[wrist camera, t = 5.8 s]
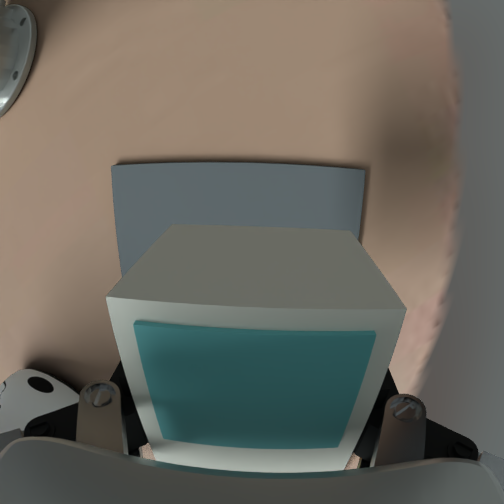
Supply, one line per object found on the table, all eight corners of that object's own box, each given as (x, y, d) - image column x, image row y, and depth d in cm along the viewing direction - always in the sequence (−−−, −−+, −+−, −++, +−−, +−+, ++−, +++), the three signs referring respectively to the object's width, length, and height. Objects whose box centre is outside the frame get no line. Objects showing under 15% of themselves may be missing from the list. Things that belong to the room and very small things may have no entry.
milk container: (1, 346, 31) (-73, 429, 14) (98, 370, 29) (19, 500, 13) (48, 430, 37) (2, 507, 20) (138, 457, 35) (101, 558, 19)
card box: (171, 224, 11) (102, 300, 6) (350, 230, 10) (409, 313, 5) (192, 405, 14) (170, 495, 9) (316, 411, 14) (327, 502, 9)
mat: (114, 164, 22) (111, 165, 21) (363, 169, 20) (365, 170, 20) (148, 387, 29) (146, 391, 29) (324, 402, 28) (325, 406, 28)
